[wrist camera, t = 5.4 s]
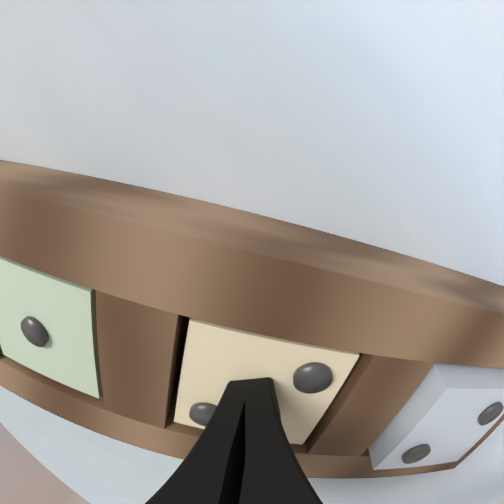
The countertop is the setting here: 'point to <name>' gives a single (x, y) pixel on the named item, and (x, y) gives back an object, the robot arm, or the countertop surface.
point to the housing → (236, 309)
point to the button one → (50, 326)
